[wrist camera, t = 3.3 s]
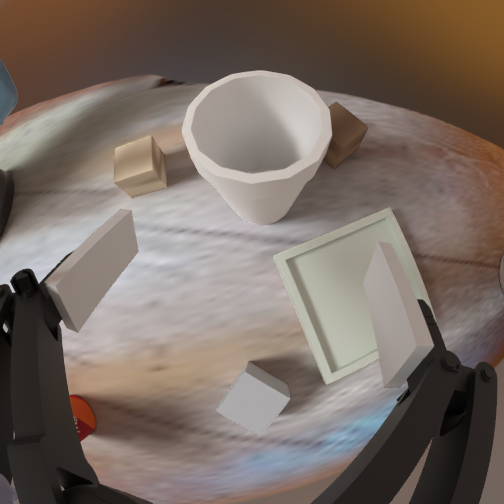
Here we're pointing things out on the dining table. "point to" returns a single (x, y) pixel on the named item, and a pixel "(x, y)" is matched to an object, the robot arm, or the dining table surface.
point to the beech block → (140, 167)
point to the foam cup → (258, 140)
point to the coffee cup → (502, 273)
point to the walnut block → (343, 135)
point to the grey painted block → (254, 399)
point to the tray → (342, 290)
